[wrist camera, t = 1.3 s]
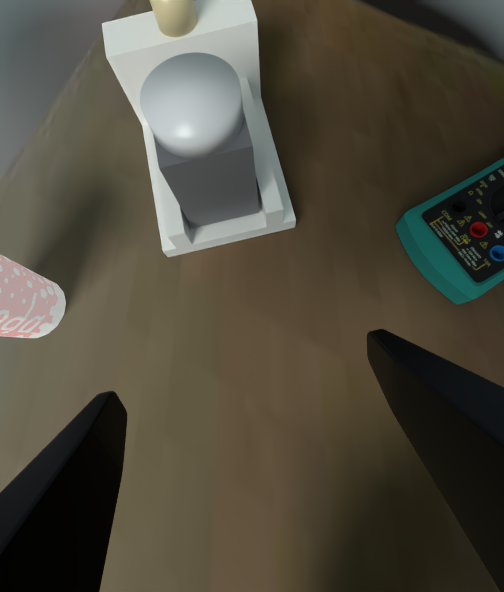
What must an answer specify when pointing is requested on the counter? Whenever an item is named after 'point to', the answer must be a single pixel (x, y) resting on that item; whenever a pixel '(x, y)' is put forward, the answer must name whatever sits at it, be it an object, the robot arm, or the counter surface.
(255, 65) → the knob mount
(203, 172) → the knob
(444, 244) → the digital multimeter
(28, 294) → the beverage cup
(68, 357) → the counter surface
